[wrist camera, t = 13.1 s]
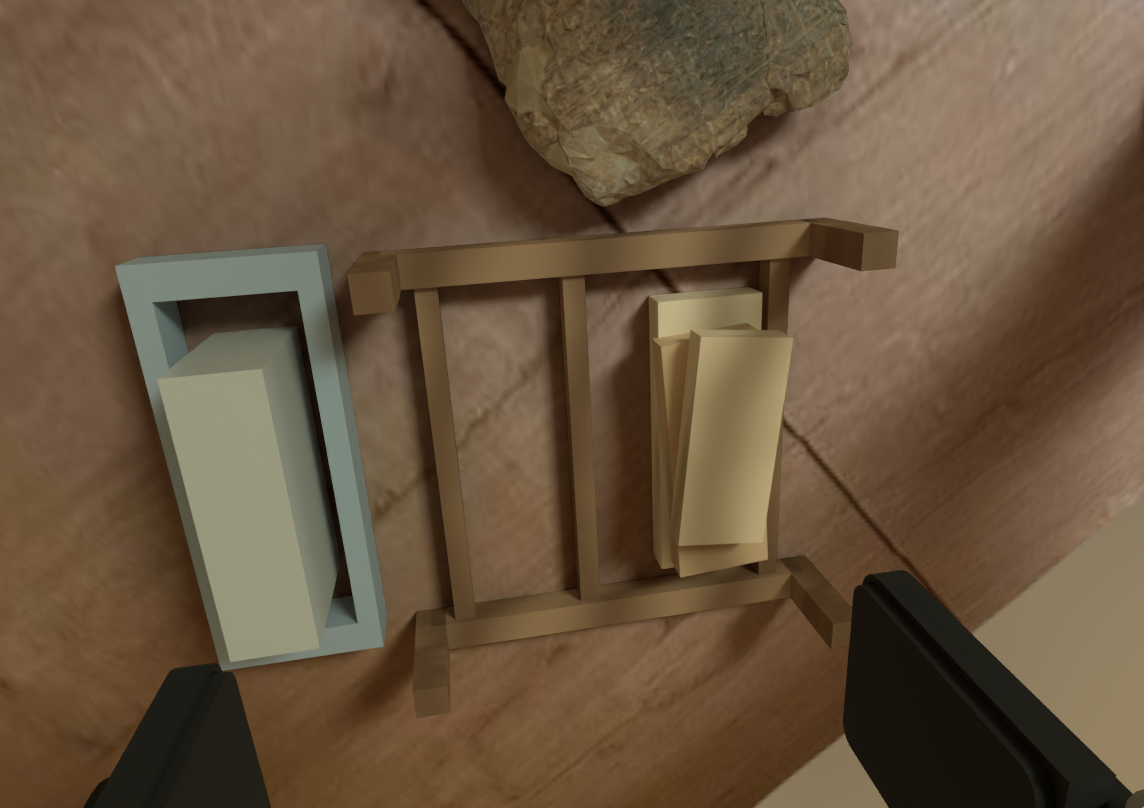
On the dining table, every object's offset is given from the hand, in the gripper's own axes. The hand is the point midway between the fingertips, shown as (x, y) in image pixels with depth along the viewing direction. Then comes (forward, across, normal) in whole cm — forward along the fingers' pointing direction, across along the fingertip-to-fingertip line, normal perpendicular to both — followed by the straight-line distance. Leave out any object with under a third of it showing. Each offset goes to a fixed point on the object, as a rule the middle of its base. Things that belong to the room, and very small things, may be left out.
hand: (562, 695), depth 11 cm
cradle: (+24, +11, +5) cm, 27 cm away
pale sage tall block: (+24, +11, +5) cm, 27 cm away
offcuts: (+25, -10, +6) cm, 27 cm away
